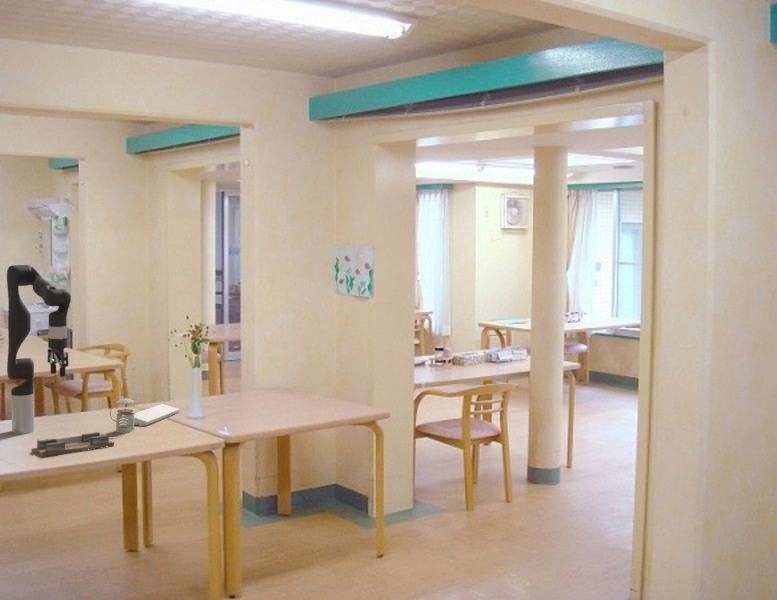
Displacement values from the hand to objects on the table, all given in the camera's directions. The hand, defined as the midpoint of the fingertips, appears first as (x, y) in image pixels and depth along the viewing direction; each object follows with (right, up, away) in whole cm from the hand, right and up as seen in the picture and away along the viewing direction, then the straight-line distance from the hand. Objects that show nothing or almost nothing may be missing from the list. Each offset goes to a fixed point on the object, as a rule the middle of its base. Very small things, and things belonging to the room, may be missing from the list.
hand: (57, 375), depth 374 cm
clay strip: (+3, -29, 0) cm, 29 cm away
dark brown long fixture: (+8, -30, -4) cm, 32 cm away
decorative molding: (+30, -27, +57) cm, 70 cm away
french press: (+18, -29, +31) cm, 46 cm away
